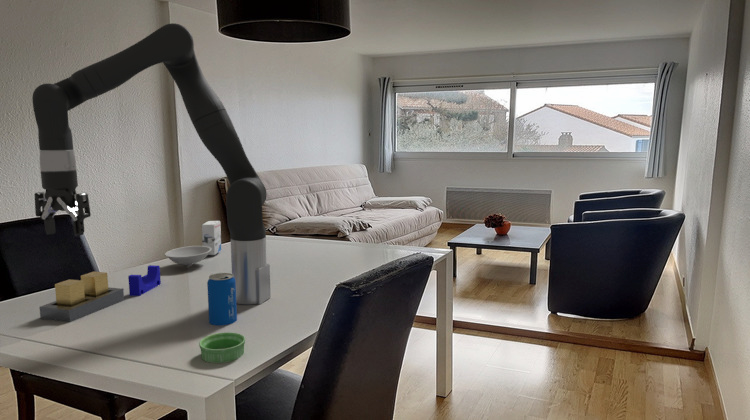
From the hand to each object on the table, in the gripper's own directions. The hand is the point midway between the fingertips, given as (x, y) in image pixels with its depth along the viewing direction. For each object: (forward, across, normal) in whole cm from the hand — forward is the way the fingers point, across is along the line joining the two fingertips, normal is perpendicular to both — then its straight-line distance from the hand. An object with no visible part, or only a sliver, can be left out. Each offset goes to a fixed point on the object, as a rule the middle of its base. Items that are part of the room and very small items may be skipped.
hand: (64, 234), depth 130 cm
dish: (+21, +2, -52) cm, 56 cm away
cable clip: (+21, -2, -23) cm, 32 cm away
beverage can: (+21, -40, -5) cm, 45 cm away
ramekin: (+22, -51, +13) cm, 57 cm away
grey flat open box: (+21, 0, -4) cm, 21 cm away
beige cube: (+20, 0, -8) cm, 22 cm away
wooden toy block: (+20, 0, 0) cm, 20 cm away
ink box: (+21, +5, -71) cm, 74 cm away
